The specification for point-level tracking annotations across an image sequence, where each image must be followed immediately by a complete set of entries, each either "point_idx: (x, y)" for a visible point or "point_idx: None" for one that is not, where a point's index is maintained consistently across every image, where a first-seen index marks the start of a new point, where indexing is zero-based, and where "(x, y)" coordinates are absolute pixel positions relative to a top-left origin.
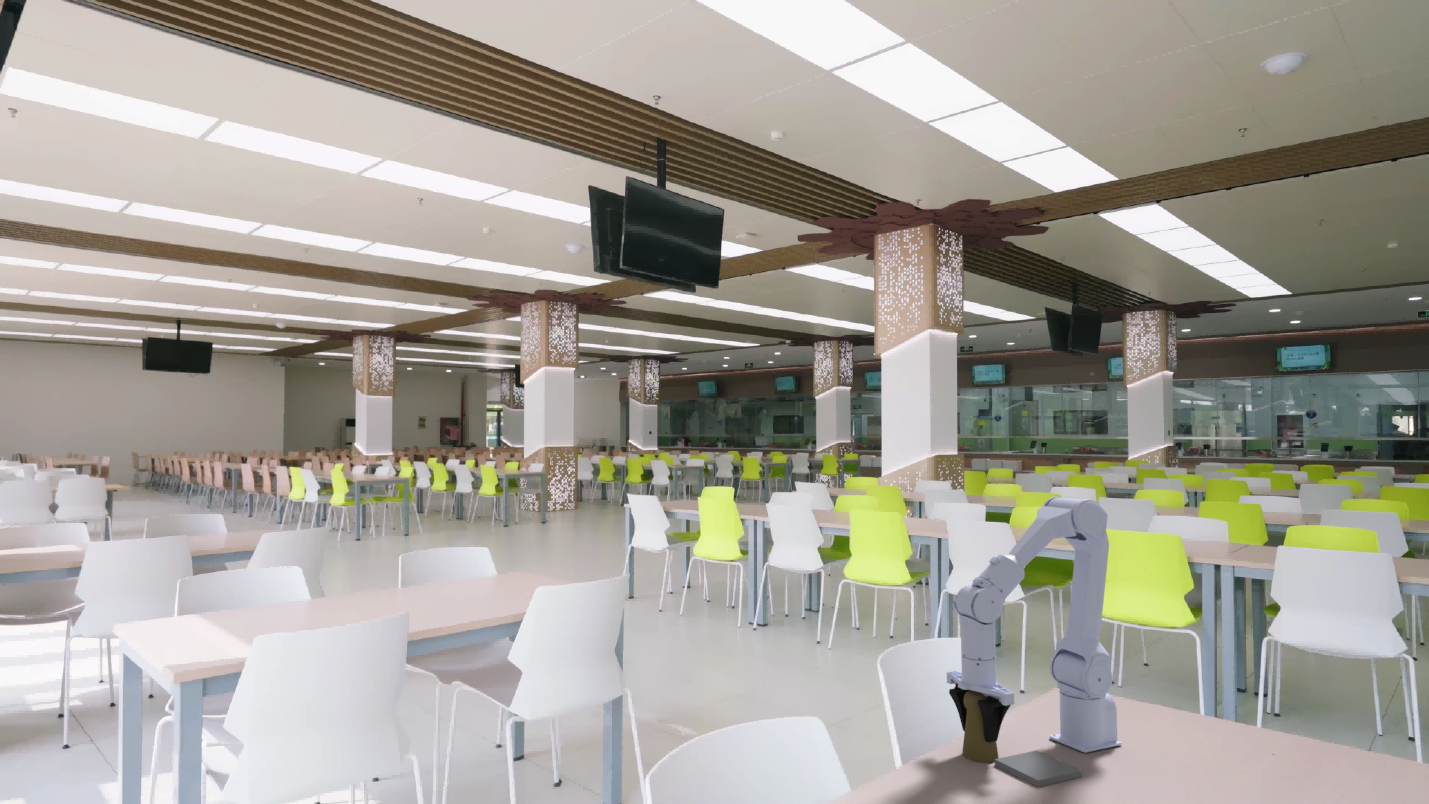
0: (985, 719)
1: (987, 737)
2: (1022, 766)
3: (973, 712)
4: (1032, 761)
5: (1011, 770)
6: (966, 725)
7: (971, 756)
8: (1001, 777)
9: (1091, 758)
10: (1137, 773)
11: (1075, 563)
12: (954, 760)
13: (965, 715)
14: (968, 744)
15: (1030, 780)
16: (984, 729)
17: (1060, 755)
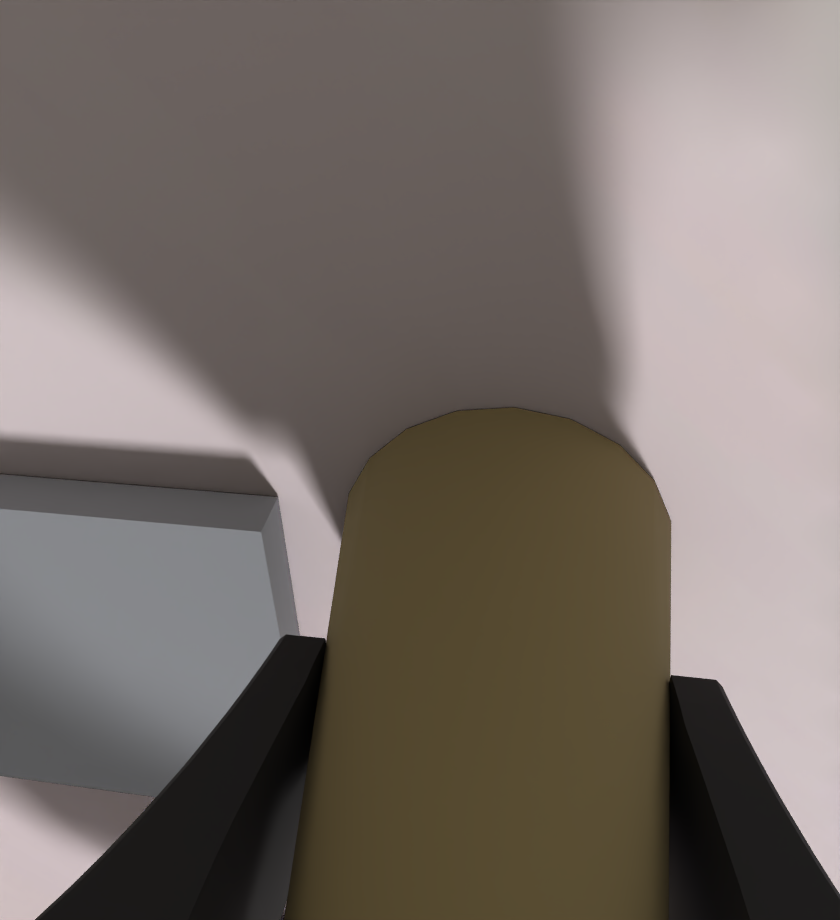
0: (126, 893)
1: (261, 673)
2: (70, 587)
3: None
4: (143, 690)
5: (77, 498)
6: (562, 719)
7: (450, 437)
8: (29, 362)
9: None
10: (12, 885)
11: None
12: (544, 266)
13: (715, 894)
14: (489, 514)
15: None
16: (255, 746)
17: None
